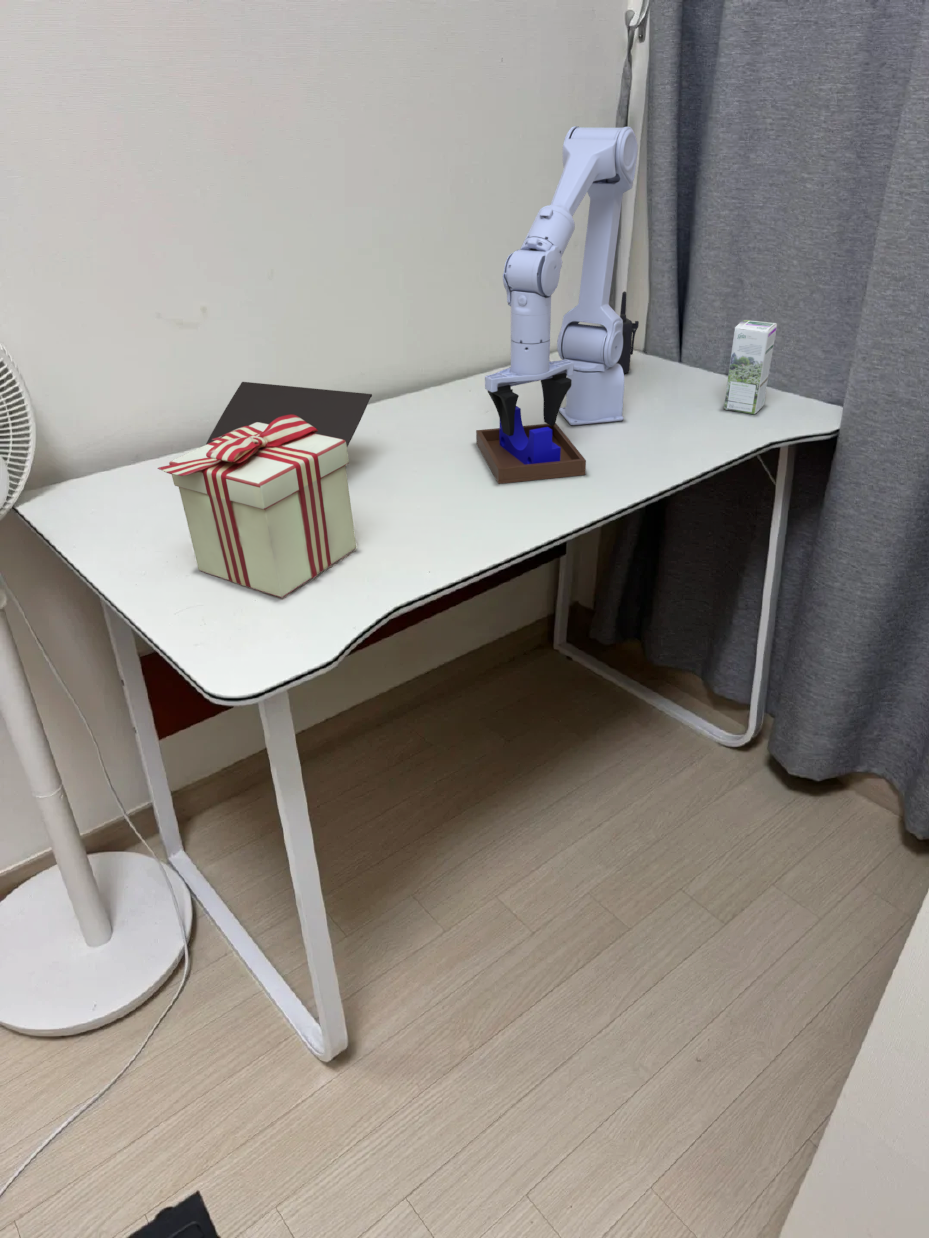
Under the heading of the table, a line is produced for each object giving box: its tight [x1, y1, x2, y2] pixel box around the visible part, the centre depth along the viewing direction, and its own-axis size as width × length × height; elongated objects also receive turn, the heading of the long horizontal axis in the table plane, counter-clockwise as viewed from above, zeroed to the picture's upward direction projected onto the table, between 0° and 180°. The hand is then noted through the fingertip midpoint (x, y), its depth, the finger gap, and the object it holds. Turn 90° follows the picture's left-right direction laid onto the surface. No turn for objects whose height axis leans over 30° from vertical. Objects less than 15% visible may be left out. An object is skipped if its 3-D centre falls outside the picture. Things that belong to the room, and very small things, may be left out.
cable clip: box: [498, 405, 561, 465], centre depth 133 cm, size 12×4×6 cm, turn 23°
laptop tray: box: [205, 381, 373, 448], centre depth 130 cm, size 23×23×9 cm
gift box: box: [157, 414, 357, 599], centre depth 104 cm, size 17×18×17 cm
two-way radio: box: [617, 290, 640, 375], centre depth 167 cm, size 6×4×15 cm
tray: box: [475, 422, 587, 485], centre depth 134 cm, size 13×16×2 cm
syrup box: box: [723, 319, 778, 415], centre depth 148 cm, size 6×6×14 cm
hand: (529, 428), depth 132 cm, fingers open, 7 cm apart
